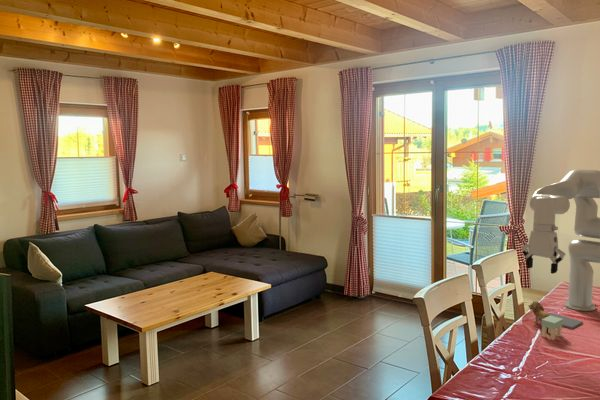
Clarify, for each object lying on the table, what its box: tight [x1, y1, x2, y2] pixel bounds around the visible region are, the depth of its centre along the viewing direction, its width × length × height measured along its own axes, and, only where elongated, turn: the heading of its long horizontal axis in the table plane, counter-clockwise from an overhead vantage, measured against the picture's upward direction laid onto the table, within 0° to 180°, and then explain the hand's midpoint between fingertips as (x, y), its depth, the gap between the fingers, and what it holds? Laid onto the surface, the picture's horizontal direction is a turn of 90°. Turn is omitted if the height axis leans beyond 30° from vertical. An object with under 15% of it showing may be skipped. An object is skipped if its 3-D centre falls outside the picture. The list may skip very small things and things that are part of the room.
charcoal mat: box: [538, 312, 584, 330], centre depth 206 cm, size 10×14×1 cm
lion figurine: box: [527, 300, 550, 324], centre depth 201 cm, size 15×5×9 cm, turn 7°
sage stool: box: [541, 316, 563, 341], centre depth 191 cm, size 7×5×7 cm
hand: (541, 270), depth 191 cm, fingers open, 9 cm apart
